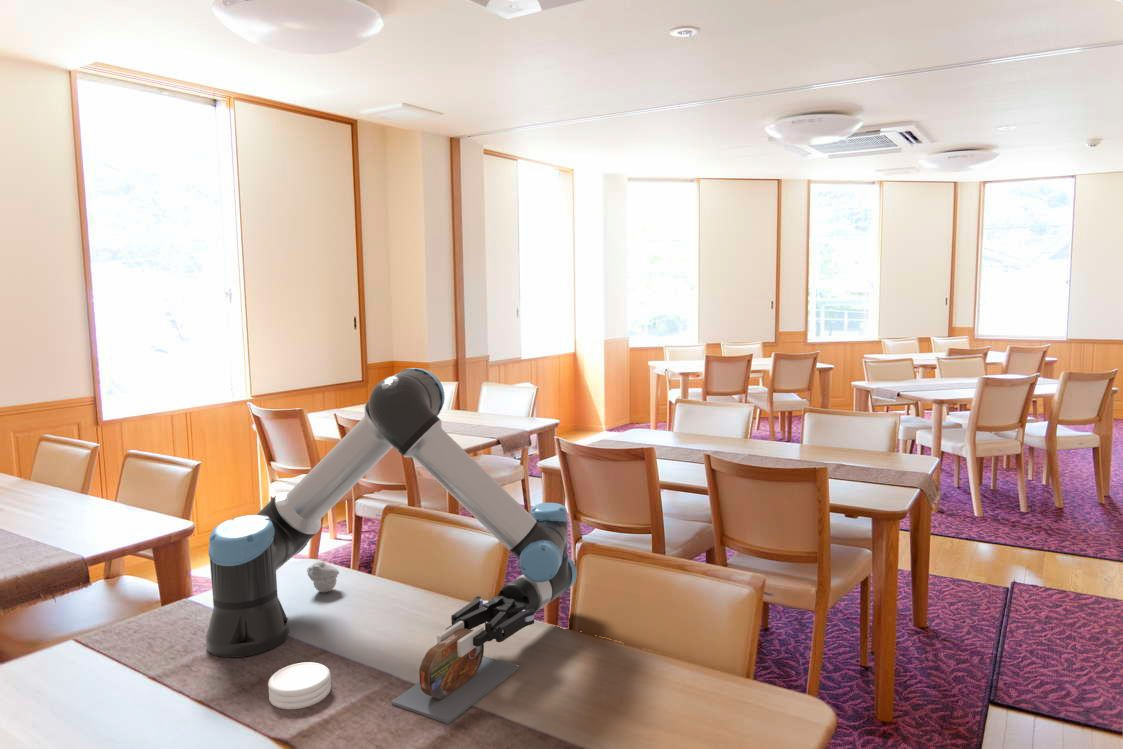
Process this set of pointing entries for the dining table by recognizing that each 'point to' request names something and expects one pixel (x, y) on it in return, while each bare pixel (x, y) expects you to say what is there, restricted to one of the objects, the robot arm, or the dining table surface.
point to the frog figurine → (323, 576)
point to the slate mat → (457, 692)
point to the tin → (448, 666)
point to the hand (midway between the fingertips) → (449, 646)
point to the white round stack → (299, 685)
